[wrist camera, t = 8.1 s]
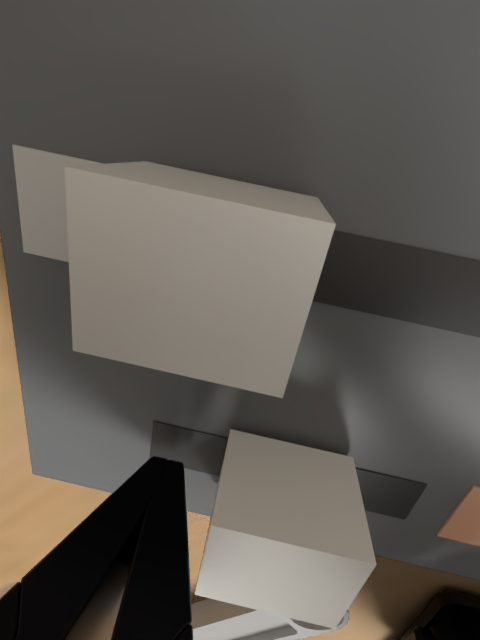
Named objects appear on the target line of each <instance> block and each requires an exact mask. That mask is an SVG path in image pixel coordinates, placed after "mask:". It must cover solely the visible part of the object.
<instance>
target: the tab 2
mask: <svg viewBox="0 0 480 640" xmlns="http://www.w3.org/2000/svg"><path fill="white" fill-rule="evenodd" d="M376 565H377V564H376V560H375V555H374V551H373V546H372V541H371V537H370V532H369V528H368V523H367V518H366V514H365V509H364V505H363V500H362V495H361V491H360V486H359V482H358V477H357V472H356V468H355V463H354V459H353V457H350V456H345V455H341V454H337V453H332V452H328V451H324V450H319V449H315V448H311V447H306V446H302V445H298V444H293V443H289V442H285V441H280V440H276V439H272V438H267V437H263V436H258V435H254V434H250V433H245V432H241V431H237V430H232V429H230V433H229V437H228V442H227V446H226V451H225V455H224V459H223V464H222V468H221V472H220V477H219V481H218V485H217V490H216V494H215V499H214V504H213V508H212V513H211V518H210V523H209V528H208V532H207V537H206V542H205V547H204V551H203V556H202V561H201V566H200V571H199V575H198V580H197V585H196V590H195V595H198V596H202V597H206V598H210V599H214V600H218V601H222V602H227V603H231V604H235V605H239V606H243V607H247V608H251V609H255V610H259V611H263V612H267V613H272V614H276V615H280V616H284V617H288V618H292V619H296V620H300V621H304V622H308V623H312V624H316V625H321V626H325V627H329V628H333V629H335V628H336V627H337V625H338V624H339V622H340V621H341V619H342V618H343V616H344V614H345V613H346V611H347V610H348V608H349V607H350V605H351V604H352V602H353V601H354V599H355V597H356V596H357V594H358V593H359V591H360V590H361V588H362V587H363V585H364V584H365V582H366V581H367V579H368V577H369V576H370V574H371V573H372V571H373V570H374V568H375V567H376Z"/></svg>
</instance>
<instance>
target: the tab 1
mask: <svg viewBox="0 0 480 640" xmlns="http://www.w3.org/2000/svg"><path fill="white" fill-rule="evenodd" d="M65 187H66V209H67V232H68V254H69V277H70V299H71V322H72V344H73V351H76V352H81V353H85V354H90V355H94V356H99V357H103V358H107V359H112V360H116V361H121V362H125V363H129V364H134V365H138V366H143V367H147V368H151V369H156V370H160V371H165V372H169V373H173V374H178V375H182V376H187V377H191V378H195V379H200V380H204V381H209V382H213V383H217V384H222V385H226V386H231V387H235V388H239V389H244V390H248V391H253V392H257V393H262V394H266V395H270V396H275V397H279V398H283V395H284V392H285V389H286V385H287V382H288V379H289V376H290V372H291V369H292V366H293V363H294V359H295V356H296V353H297V350H298V346H299V343H300V340H301V337H302V333H303V330H304V327H305V323H306V320H307V317H308V314H309V310H310V307H311V304H312V301H313V297H314V294H315V291H316V288H317V284H318V281H319V278H320V275H321V271H322V268H323V265H324V262H325V258H326V255H327V252H328V248H329V245H330V242H331V239H332V235H333V232H334V229H335V226H336V223H335V222H334V220H333V219H332V217H331V216H330V215H329V213H328V212H327V210H326V209H325V207H324V206H323V204H322V203H321V201H320V200H319V198H318V197H313V196H309V195H304V194H299V193H294V192H290V191H285V190H280V189H275V188H271V187H266V186H261V185H256V184H252V183H247V182H242V181H237V180H232V179H228V178H223V177H218V176H213V175H209V174H204V173H199V172H194V171H190V170H185V169H180V168H175V167H171V166H166V165H161V164H156V163H152V162H147V161H140V162H125V163H110V164H95V165H80V166H65Z"/></svg>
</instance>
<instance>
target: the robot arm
mask: <svg viewBox="0 0 480 640" xmlns="http://www.w3.org/2000/svg"><path fill="white" fill-rule="evenodd" d="M191 624H192V607H191V588H190V569H189V550H188V531H187V512H186V493H185V475H184V464H183V463H182V462H179V461H174V460H168V459H166V458H161V457H157V456H153V457H151V458H150V459H148V460H147V461H146V462H145V463H144V464H143V465H142V466H141V467H140V468H139V469H138V470H137V471H136V472H135V473H134V474H132V475H131V476H130V477H129V478H128V479H127V480H126V481H125V482H124V483H123V484H122V485H121V486H120V487H119V488H118V489H117V490H115V491H114V492H113V493H112V494H111V495H110V496H109V497H108V498H107V499H106V500H105V501H104V502H103V503H102V504H101V505H99V506H98V507H97V508H96V509H95V510H94V511H93V512H92V513H91V514H90V515H89V516H88V517H87V518H86V519H85V520H83V521H82V522H81V523H80V524H79V525H78V526H77V527H76V528H75V529H74V530H73V531H72V532H71V533H70V534H69V535H68V536H66V537H65V538H64V539H63V540H62V541H61V542H60V543H59V544H58V545H57V546H56V547H55V548H54V549H53V550H52V551H50V552H49V553H48V554H47V555H46V556H45V557H44V558H43V559H42V560H41V561H40V562H39V563H38V564H37V565H36V566H34V567H33V568H32V569H31V570H30V571H29V572H28V573H27V574H26V575H25V576H24V577H23V578H22V579H21V583H20V582H17V583H16V584H15V585H14V586H13V587H12V588H11V589H10V590H9V591H8V592H7V593H6V594H5V595H3V597H1V598H0V640H108V639H109V637H110V635H111V632H112V630H113V628H114V630H113V633H112V637H111V640H193V626H192V625H191ZM114 625H115V626H114ZM400 640H480V598H479V597H474V596H470V595H466V594H462V593H458V592H451V591H449V592H443V593H440V594H439V595H437V596H436V597H435V599H434V600H433V601H432V602H431V603H430V604H429V606H428V607H427V608H426V609H425V610H424V611H423V613H422V614H421V615H420V616H419V617H418V619H417V620H416V621H415V622H414V623H413V624H412V626H411V627H410V628H409V629H408V630H407V631H406V633H405V634H404V635H403V636H402V637H401V639H400Z"/></svg>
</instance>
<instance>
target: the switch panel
mask: <svg viewBox="0 0 480 640" xmlns="http://www.w3.org/2000/svg"><path fill="white" fill-rule="evenodd" d="M140 161H147V162H152V163H156V164H161V165H166V166H171V167H175V168H180V169H185V170H190V171H194V172H199V173H204V174H209V175H213V176H218V177H223V178H228V179H232V180H237V181H242V182H247V183H252V184H256V185H261V186H266V187H271V188H275V189H280V190H285V191H290V192H294V193H299V194H304V195H309V196H313V197H318V198H319V200H320V201H321V203H322V204H323V206H324V207H325V209H326V210H327V212H328V213H329V215H330V216H331V217H332V219H333V220H334V222H335V223H336V226H335V229H334V232H333V235H332V239H331V242H330V245H329V248H328V252H327V255H326V258H325V262H324V265H323V268H322V271H321V275H320V278H319V281H318V284H317V288H316V291H315V294H314V297H313V301H312V304H311V307H310V310H309V314H308V317H307V320H306V323H305V327H304V330H303V333H302V337H301V340H300V343H299V346H298V350H297V353H296V356H295V359H294V363H293V366H292V369H291V372H290V376H289V379H288V382H287V385H286V389H285V392H284V395H283V398H279V397H275V396H270V395H266V394H262V393H257V392H253V391H248V390H244V389H239V388H235V387H231V386H226V385H222V384H217V383H213V382H209V381H204V380H200V379H195V378H191V377H187V376H182V375H178V374H173V373H169V372H165V371H160V370H156V369H151V368H147V367H143V366H138V365H134V364H129V363H125V362H121V361H116V360H112V359H107V358H103V357H99V356H94V355H90V354H85V353H81V352H76V351H73V344H72V322H71V299H70V277H69V254H68V232H67V209H66V187H65V166H80V165H95V164H110V163H125V162H140ZM0 232H1V240H2V247H3V255H4V262H5V270H6V277H7V285H8V292H9V300H10V307H11V315H12V322H13V330H14V337H15V345H16V352H17V360H18V368H19V375H20V383H21V390H22V398H23V405H24V413H25V420H26V428H27V435H28V443H29V450H30V458H31V465H32V473H33V474H35V475H39V476H43V477H47V478H51V479H56V480H60V481H64V482H68V483H73V484H77V485H81V486H85V487H89V488H94V489H98V490H102V491H106V492H110V493H113V492H114V491H115V490H117V489H118V488H119V487H120V486H121V485H122V484H123V483H124V482H125V481H126V480H127V479H128V478H129V477H130V476H131V475H132V474H134V473H135V472H136V471H137V470H138V469H139V468H140V467H141V466H142V465H143V464H144V463H145V462H146V461H147V460H148V459H150V458H151V457H153V456H157V457H161V458H166V459H168V460H174V461H179V462H182V463H183V464H184V475H185V493H186V511H190V512H194V513H199V514H203V515H207V516H211V513H212V508H213V504H214V499H215V494H216V490H217V485H218V481H219V477H220V472H221V468H222V464H223V459H224V455H225V451H226V446H227V442H228V437H229V433H230V429H232V430H237V431H241V432H245V433H250V434H254V435H258V436H263V437H267V438H272V439H276V440H280V441H285V442H289V443H293V444H298V445H302V446H306V447H311V448H315V449H319V450H324V451H328V452H332V453H337V454H341V455H345V456H350V457H353V459H354V463H355V468H356V472H357V477H358V482H359V486H360V491H361V495H362V500H363V505H364V509H365V514H366V518H367V523H368V528H369V532H370V537H371V541H372V546H373V551H374V555H375V556H379V557H384V558H388V559H392V560H396V561H400V562H405V563H409V564H413V565H417V566H421V567H426V568H430V569H434V570H438V571H442V572H447V573H451V574H455V575H459V576H464V577H468V578H472V579H476V580H480V0H0Z"/></svg>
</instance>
